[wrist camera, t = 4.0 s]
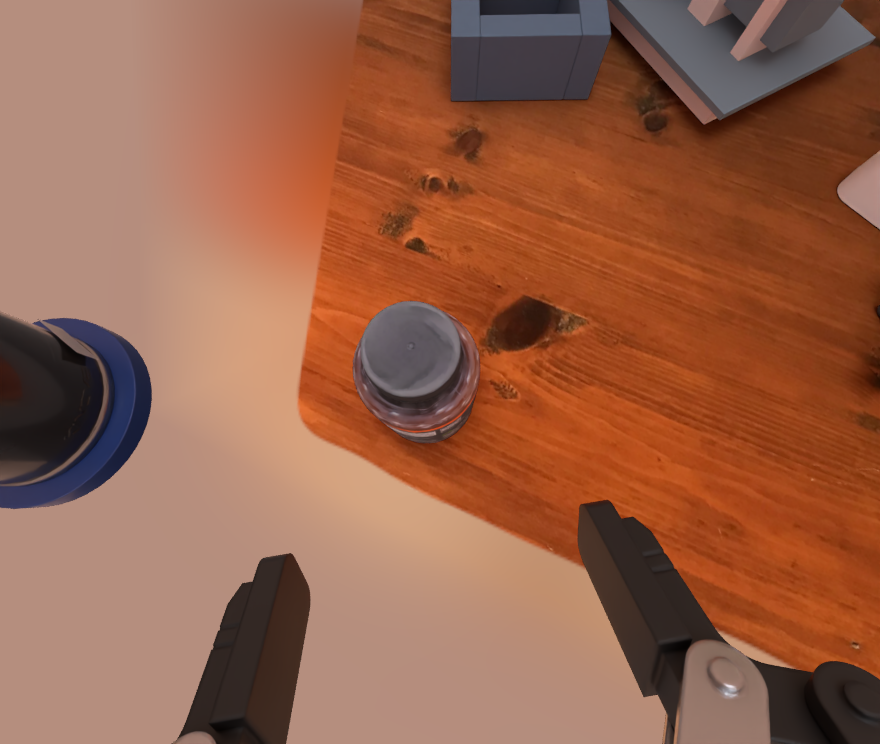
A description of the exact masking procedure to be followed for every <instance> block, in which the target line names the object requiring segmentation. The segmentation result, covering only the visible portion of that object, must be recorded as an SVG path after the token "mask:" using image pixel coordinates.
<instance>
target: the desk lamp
mask: <svg viewBox="0 0 880 744" xmlns="http://www.w3.org/2000/svg"><path fill="white" fill-rule="evenodd" d="M843 1H844V0H607V4H608V12H609V19H610V21H611V22H612V23H613V24H614V26H615V27H616V28H617V29H618V30H619V31H620V32H621V33H622V34H623V36H624V37H625V38H626V39H627V40H628V41H629V42H630V43H631V44H632V46H633V47H634V48H635V49H636V50H637V51H638V52H639V53H640V54H641V56H642V57H643V58H644V59H645V60H646V61H647V62H648V63H649V64H650V66H651V67H652V68H653V69H654V70H655V71H656V72H657V73H658V74H659V76H660V77H661V78H662V79H663V80H664V81H665V82H666V83H667V84H668V86H669V87H670V88H671V89H672V90H673V91H674V92H675V93H676V94H677V96H678V97H679V98H680V99H681V100H682V101H683V102H684V103H685V104H686V106H687V107H688V108H689V109H690V110H691V111H692V112H693V113H694V114H695V116H696V117H697V118H698V119H699V120H700V121H701V122H702V123H703V124H706V123H708V122H710V121H712V120H714V119H716V118H718V119H719V120H721V119H723V118H725V117H727V116H729V115H731V114H733V113H735V112H737V111H739V110H741V109H743V108H745V107H747V106H749V105H751V104H753V103H755V102H757V101H759V100H761V99H763V98H765V97H767V96H769V95H771V94H773V93H775V92H777V91H779V90H781V89H783V88H784V87H786V86H788V85H790V84H792V83H794V82H796V81H798V80H800V79H802V78H804V77H806V76H808V75H810V74H812V73H814V72H816V71H818V70H820V69H822V68H824V67H826V66H828V65H830V64H832V63H834V62H836V61H838V60H840V59H842V58H844V57H846V56H848V55H850V54H852V53H854V52H856V51H858V50H860V49H862V48H864V47H866V46H868V45H869V44H870V43H871V42H872V41H873V40H874V39H875V37H874V36H873V35H872V34H871V33H870V32H869V31H868V30H866V29H865V28H864V27H863V26H862V25H861V24H860V23H859V22H857V21H856V20H855V19H854V18H853V17H852V16H851V15H850V14H849V13H847V12H846V11H845V10H844V9H843V8H842V7H841V6H840V5H841V4H842V2H843Z"/></svg>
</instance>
